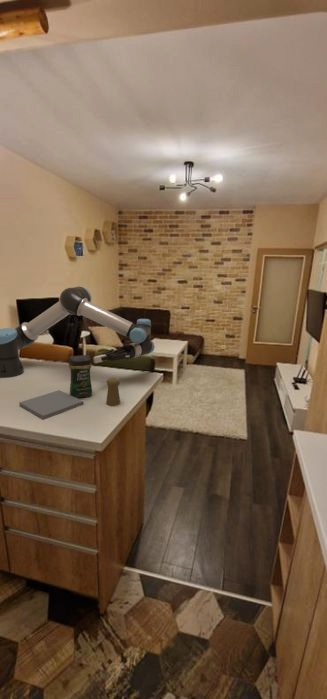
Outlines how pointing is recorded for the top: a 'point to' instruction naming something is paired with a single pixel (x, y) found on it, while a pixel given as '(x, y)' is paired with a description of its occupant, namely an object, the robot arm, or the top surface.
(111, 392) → the cork
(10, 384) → the top surface
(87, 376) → the coffee jar
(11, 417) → the top surface
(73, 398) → the mat
